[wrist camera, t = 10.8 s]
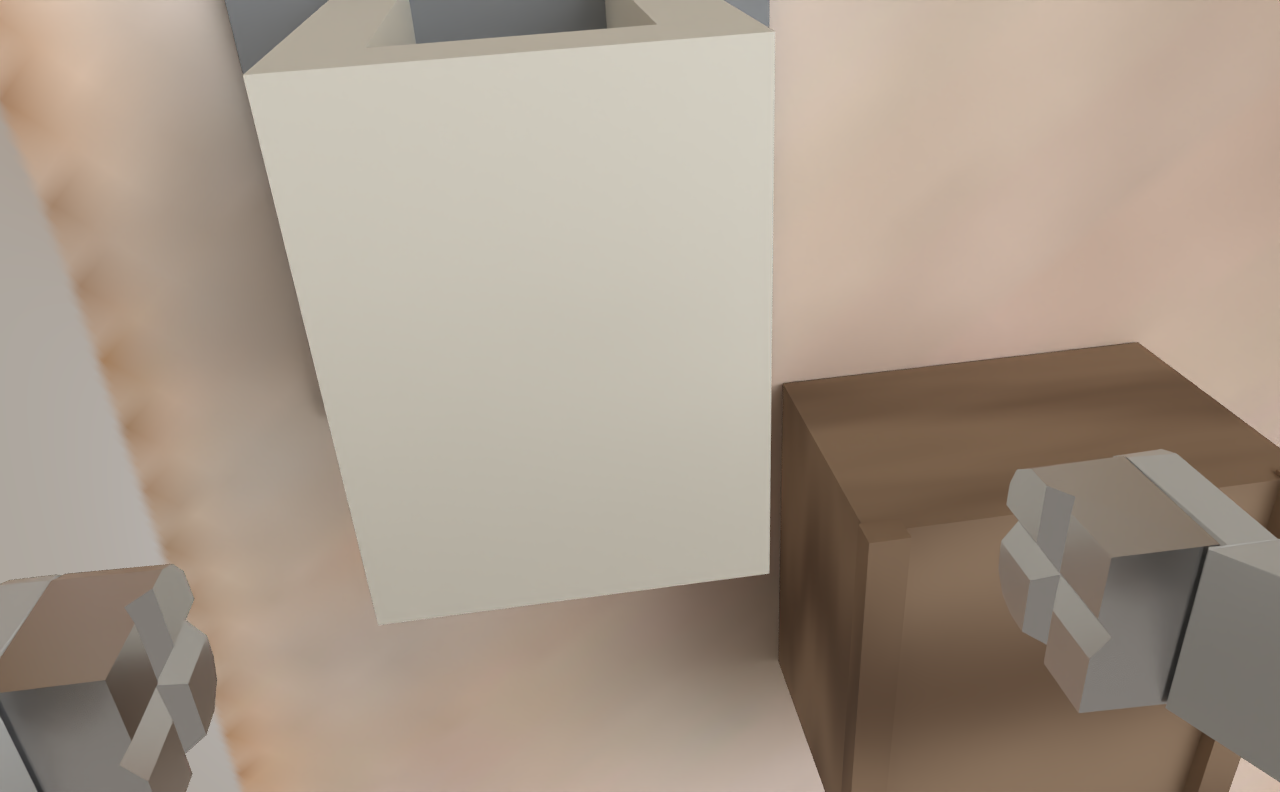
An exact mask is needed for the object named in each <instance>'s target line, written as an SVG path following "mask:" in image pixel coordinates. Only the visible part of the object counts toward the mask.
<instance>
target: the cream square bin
mask: <svg viewBox="0 0 1280 792" xmlns="http://www.w3.org/2000/svg"><path fill="white" fill-rule="evenodd" d="M605 9H606V23H607V29H595V30H583V31H570V32H558V33H545V34H533V35H521V36H508V37H496V38H483V39H471V40H459V41H446V42H434V43H421V44H416V40H415V34H414V27H413V21H412V15H411V9H410V2H409V0H328V1H327V2H326V3H325V4H324V5H323V6H321V7H320V8H319V9H318V10H317V11H316V12H315V13H313V14H312V15H311V16H310V17H309V18H308V19H307V20H305V21H304V22H303V23H302V24H301V25H300V26H299V27H297V28H296V29H295V30H294V31H293V32H292V33H290V34H289V35H288V36H287V37H286V38H285V39H284V40H282V41H281V42H280V43H279V44H278V45H277V46H276V47H274V48H273V49H272V50H271V51H270V52H269V53H268V54H266V55H265V56H264V57H263V58H262V59H261V60H260V61H258V62H257V63H256V64H255V65H254V66H253V67H251V68H250V69H249V70H248V71H247V72H246V73H245V74H243V79H244V83H245V87H246V91H247V95H248V99H249V103H250V107H251V111H252V115H253V119H254V123H255V127H256V131H257V136H258V140H259V144H260V148H261V152H262V156H263V160H264V164H265V168H266V172H267V176H268V180H269V184H270V188H271V192H272V196H273V200H274V205H275V209H276V213H277V217H278V221H279V225H280V229H281V233H282V237H283V241H284V245H285V249H286V253H287V257H288V261H289V265H290V269H291V274H292V278H293V282H294V286H295V290H296V294H297V298H298V302H299V306H300V310H301V314H302V318H303V322H304V326H305V330H306V334H307V338H308V343H309V347H310V351H311V355H312V359H313V363H314V367H315V371H316V375H317V379H318V383H319V387H320V391H321V395H322V399H323V403H324V407H325V412H326V416H327V420H328V424H329V428H330V432H331V436H332V440H333V444H334V448H335V452H336V456H337V460H338V464H339V468H340V472H341V476H342V481H343V485H344V489H345V493H346V497H347V501H348V505H349V509H350V513H351V517H352V521H353V525H354V529H355V533H356V537H357V541H358V545H359V550H360V554H361V558H362V562H363V566H364V570H365V574H366V578H367V582H368V586H369V590H370V594H371V598H372V602H373V606H374V610H375V614H376V619H377V623H378V625H385V624H393V623H400V622H408V621H415V620H423V619H430V618H438V617H446V616H453V615H461V614H468V613H476V612H483V611H491V610H498V609H506V608H513V607H521V606H528V605H536V604H544V603H551V602H559V601H566V600H574V599H581V598H589V597H596V596H604V595H611V594H619V593H626V592H634V591H642V590H649V589H657V588H664V587H672V586H679V585H687V584H694V583H702V582H709V581H717V580H724V579H732V578H740V577H747V576H755V575H762V574H769V564H770V471H771V379H772V286H773V194H774V102H775V31H774V30H772V29H770V28H769V27H767V26H765V25H764V24H762V23H760V22H759V21H757V20H755V19H754V18H752V17H750V16H749V15H747V14H746V13H744V12H742V11H741V10H739V9H737V8H736V7H734V6H732V5H731V4H729V3H727V2H726V1H724V0H605Z"/></svg>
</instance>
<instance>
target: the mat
mask: <svg viewBox="0 0 1280 792" xmlns="http://www.w3.org/2000/svg"><path fill="white" fill-rule="evenodd" d="M327 1H328V0H225V3H226V7H227V11H228V15H229V19H230V23H231V27H232V31H233V35H234V39H235V43H236V47H237V51H238V55H239V60H240V64H241V68H242V72H243V74H245V73H246V72H247V71H248V70H249V69H250V68H251V67H253V66H254V65H255V64H256V63H257V62H258V61H260V60H261V59H262V58H263V57H264V56H265V55H266V54H268V53H269V52H270V51H271V50H272V49H273V48H274V47H276V46H277V45H278V44H279V43H280V42H281V41H282V40H284V39H285V38H286V37H287V36H288V35H289V34H290V33H292V32H293V31H294V30H295V29H296V28H297V27H299V26H300V25H301V24H302V23H303V22H304V21H305V20H307V19H308V18H309V17H310V16H311V15H312V14H313V13H315V12H316V11H317V10H318V9H319V8H320V7H321V6H323V5H324V4H325V3H326V2H327ZM724 1H726V2H727V3H729V4H731V5H732V6H734V7H736V8H737V9H739V10H741V11H742V12H744V13H746V14H747V15H749V16H750V17H752V18H754V19H755V20H757V21H759V22H760V23H762V24H764V25H765V26H767V27H769V0H724ZM409 2H410V9H411V15H412V21H413V27H414V34H415V40H416V44H421V43H434V42H446V41H459V40H471V39H483V38H496V37H508V36H521V35H533V34H545V33H558V32H570V31H583V30H595V29H607V23H606V9H605V0H409Z"/></svg>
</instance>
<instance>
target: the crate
mask: <svg viewBox="0 0 1280 792" xmlns="http://www.w3.org/2000/svg"><path fill="white" fill-rule="evenodd" d="M1158 449H1163V450H1167V451H1170V452H1173V453H1176V454H1178V455H1179V456H1180V457H1181V458H1183V459H1184V460H1185V461H1186V462H1187V463H1188V464H1190V465H1191V466H1192V467H1193V468H1194V469H1196V470H1197V471H1198V472H1199V473H1200V474H1201V475H1203V476H1204V477H1205V478H1206V479H1207V480H1209V481H1210V482H1211V483H1212V484H1213V485H1215V486H1216V487H1217V488H1218V489H1219V490H1220V491H1222V492H1223V493H1224V494H1225V495H1226V496H1228V497H1229V498H1230V499H1231V500H1232V501H1234V502H1235V503H1236V504H1237V505H1238V506H1239V507H1241V508H1242V509H1243V510H1244V511H1245V512H1247V513H1248V514H1249V515H1250V516H1251V517H1252V518H1254V519H1255V520H1256V521H1257V522H1258V523H1260V524H1261V525H1262V526H1263V527H1264V528H1266V529H1267V530H1268V531H1269V532H1270V533H1271V534H1273V535H1274V536H1275V537H1276V538H1277V539H1280V448H1279V447H1278V446H1276V445H1275V444H1274V443H1272V442H1271V441H1270V440H1268V439H1267V438H1265V437H1264V436H1263V435H1261V434H1260V433H1259V432H1257V431H1256V430H1255V429H1253V428H1252V427H1251V426H1249V425H1248V424H1247V423H1245V422H1244V421H1243V420H1241V419H1240V418H1239V417H1237V416H1236V415H1235V414H1233V413H1232V412H1231V411H1229V410H1228V409H1227V408H1225V407H1224V406H1223V405H1221V404H1220V403H1219V402H1217V401H1216V400H1215V399H1213V398H1212V397H1211V396H1209V395H1208V394H1206V393H1205V392H1204V391H1202V390H1201V389H1200V388H1198V387H1197V386H1196V385H1194V384H1193V383H1192V382H1190V381H1189V380H1188V379H1186V378H1185V377H1184V376H1182V375H1181V374H1180V373H1178V372H1177V371H1176V370H1174V369H1173V368H1172V367H1170V366H1169V365H1168V364H1166V363H1165V362H1164V361H1162V360H1161V359H1160V358H1158V357H1157V356H1156V355H1154V354H1153V353H1152V352H1150V351H1149V350H1148V349H1146V348H1145V347H1143V346H1142V345H1141V344H1139V343H1138V342H1137V343H1128V344H1120V345H1111V346H1102V347H1094V348H1085V349H1077V350H1068V351H1059V352H1051V353H1042V354H1033V355H1025V356H1016V357H1008V358H999V359H990V360H982V361H973V362H964V363H956V364H947V365H939V366H930V367H921V368H913V369H904V370H895V371H887V372H878V373H870V374H861V375H852V376H844V377H835V378H826V379H818V380H809V381H801V382H792V383H783V414H782V475H781V536H780V598H779V659H778V661H779V664H780V667H781V670H782V673H783V675H784V678H785V681H786V684H787V687H788V689H789V692H790V695H791V698H792V700H793V703H794V706H795V709H796V712H797V714H798V717H799V720H800V723H801V726H802V728H803V731H804V734H805V737H806V739H807V742H808V745H809V748H810V751H811V753H812V756H813V759H814V762H815V764H816V767H817V770H818V773H819V776H820V778H821V781H822V784H823V787H824V790H825V792H1229V789H1230V787H1231V784H1232V781H1233V778H1234V775H1235V772H1236V770H1237V767H1238V764H1239V761H1240V758H1241V757H1240V756H1239V755H1237V754H1235V753H1234V752H1232V751H1231V750H1229V749H1228V748H1226V747H1225V746H1223V745H1222V744H1220V743H1218V742H1217V741H1215V740H1214V739H1212V738H1211V737H1209V736H1208V735H1206V734H1205V733H1203V732H1201V731H1200V730H1198V729H1197V728H1195V727H1194V726H1192V725H1191V724H1189V723H1188V722H1186V721H1184V720H1183V719H1181V718H1180V717H1178V716H1177V715H1175V714H1174V713H1172V712H1171V711H1169V710H1167V709H1166V708H1165V707H1166V704H1160V705H1151V706H1142V707H1132V708H1123V709H1113V710H1104V711H1094V712H1085V713H1078V712H1077V710H1076V709H1075V707H1074V706H1073V705H1072V703H1071V702H1070V700H1069V699H1068V697H1067V696H1066V695H1065V693H1064V692H1063V690H1062V689H1061V687H1060V686H1059V684H1058V683H1057V682H1056V680H1055V679H1054V677H1053V676H1052V674H1051V673H1050V672H1049V670H1048V669H1047V667H1046V666H1045V664H1044V658H1045V653H1046V647H1047V645H1046V644H1044V643H1043V642H1041V641H1039V640H1037V639H1035V638H1033V637H1031V636H1029V635H1028V634H1026V633H1024V632H1022V631H1021V629H1020V628H1019V626H1018V625H1017V623H1016V622H1015V620H1014V619H1013V617H1012V616H1011V614H1010V612H1009V609H1008V607H1007V605H1006V602H1005V600H1004V597H1003V595H1002V589H1001V583H1000V576H999V570H998V565H999V556H1000V546H1001V541H1002V539H1003V538H1004V537H1005V536H1006V535H1007V534H1008V532H1009V531H1010V530H1011V529H1012V528H1013V527H1014V525H1015V524H1016V523H1017V522H1018V520H1017V518H1016V517H1015V516H1014V514H1013V513H1012V512H1011V510H1010V509H1009V508H1008V506H1007V505H1006V504H1007V498H1008V491H1009V485H1010V482H1011V480H1012V478H1013V476H1014V474H1015V472H1016V470H1017V469H1025V468H1032V467H1040V466H1048V465H1056V464H1064V463H1071V462H1079V461H1087V460H1095V459H1103V458H1110V457H1113V456H1117V455H1124V454H1131V453H1138V452H1144V451H1151V450H1158Z"/></svg>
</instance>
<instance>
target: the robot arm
mask: <svg viewBox="0 0 1280 792" xmlns="http://www.w3.org/2000/svg"><path fill="white" fill-rule="evenodd" d="M1006 505H1007V506H1008V508H1009V509H1010V510H1011V512H1012V513H1013V514H1014V516H1015V517H1016V518H1017V520H1018V522H1017V523H1016V524H1015V525H1014V527H1013V528H1012V529H1011V530H1010V531H1009V532H1008V534H1007V535H1006V536H1005V537H1004V538H1003V539H1002V541H1001V546H1000V556H999V565H998V570H999V576H1000V583H1001V589H1002V595H1003V597H1004V600H1005V602H1006V605H1007V607H1008V609H1009V612H1010V614H1011V616H1012V617H1013V619H1014V620H1015V622H1016V623H1017V625H1018V626H1019V628H1020V629H1021V631H1022V632H1024V633H1026V634H1028V635H1029V636H1031V637H1033V638H1035V639H1037V640H1039V641H1041V642H1043V643H1044V644H1046V645H1047V647H1046V653H1045V658H1044V664H1045V666H1046V667H1047V669H1048V670H1049V672H1050V673H1051V674H1052V676H1053V677H1054V679H1055V680H1056V682H1057V683H1058V684H1059V686H1060V687H1061V689H1062V690H1063V692H1064V693H1065V695H1066V696H1067V697H1068V699H1069V700H1070V702H1071V703H1072V705H1073V706H1074V707H1075V709H1076V710H1077V712H1078V713H1085V712H1094V711H1104V710H1113V709H1123V708H1132V707H1142V706H1151V705H1160V704H1166V707H1165V708H1166V709H1167V710H1169V711H1171V712H1172V713H1174V714H1175V715H1177V716H1178V717H1180V718H1181V719H1183V720H1184V721H1186V722H1188V723H1189V724H1191V725H1192V726H1194V727H1195V728H1197V729H1198V730H1200V731H1201V732H1203V733H1205V734H1206V735H1208V736H1209V737H1211V738H1212V739H1214V740H1215V741H1217V742H1218V743H1220V744H1222V745H1223V746H1225V747H1226V748H1228V749H1229V750H1231V751H1232V752H1234V753H1235V754H1237V755H1239V756H1240V757H1242V758H1243V759H1245V760H1246V761H1248V762H1249V763H1251V764H1252V765H1254V766H1256V767H1257V768H1259V769H1260V770H1262V771H1263V772H1265V773H1266V774H1268V775H1269V776H1271V777H1273V778H1274V779H1276V780H1277V781H1279V782H1280V539H1277V538H1276V537H1275V536H1274V535H1273V534H1271V533H1270V532H1269V531H1268V530H1267V529H1266V528H1264V527H1263V526H1262V525H1261V524H1260V523H1258V522H1257V521H1256V520H1255V519H1254V518H1252V517H1251V516H1250V515H1249V514H1248V513H1247V512H1245V511H1244V510H1243V509H1242V508H1241V507H1239V506H1238V505H1237V504H1236V503H1235V502H1234V501H1232V500H1231V499H1230V498H1229V497H1228V496H1226V495H1225V494H1224V493H1223V492H1222V491H1220V490H1219V489H1218V488H1217V487H1216V486H1215V485H1213V484H1212V483H1211V482H1210V481H1209V480H1207V479H1206V478H1205V477H1204V476H1203V475H1201V474H1200V473H1199V472H1198V471H1197V470H1196V469H1194V468H1193V467H1192V466H1191V465H1190V464H1188V463H1187V462H1186V461H1185V460H1184V459H1183V458H1181V457H1180V456H1179V455H1178V454H1176V453H1173V452H1170V451H1167V450H1163V449H1158V450H1151V451H1144V452H1138V453H1131V454H1124V455H1117V456H1113V457H1110V458H1103V459H1095V460H1087V461H1079V462H1071V463H1064V464H1056V465H1048V466H1040V467H1032V468H1025V469H1017V470H1016V472H1015V474H1014V476H1013V478H1012V480H1011V482H1010V485H1009V491H1008V498H1007V504H1006ZM193 601H194V597H193V594H192V592H191V589H190V586H189V584H188V581H187V579H186V576H185V574H184V571H183V570H181V569H179V568H178V567H176V566H175V565H173V564H165V565H155V566H144V567H134V568H122V569H113V570H101V571H91V572H79V573H69V574H64V575H48V576H41V577H31V578H23V579H14V580H9V581H6V582H4V583H1V584H0V792H186V790H187V787H188V785H189V782H190V779H191V776H192V771H191V769H190V766H189V763H188V761H187V758H186V755H185V753H187V752H188V750H190V749H191V748H192V747H193V746H194V745H195V744H197V743H198V742H199V741H200V740H201V739H202V738H203V737H204V736H206V734H207V731H208V728H209V725H210V722H211V719H212V716H213V713H214V709H215V697H216V685H217V677H216V670H215V663H214V656H213V653H212V650H211V647H210V644H209V640H208V637H207V635H205V634H204V633H202V632H201V631H200V630H198V629H197V628H195V627H194V626H193V625H191V624H190V623H188V622H187V621H186V617H187V615H188V613H189V610H190V608H191V606H192V603H193Z"/></svg>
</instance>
